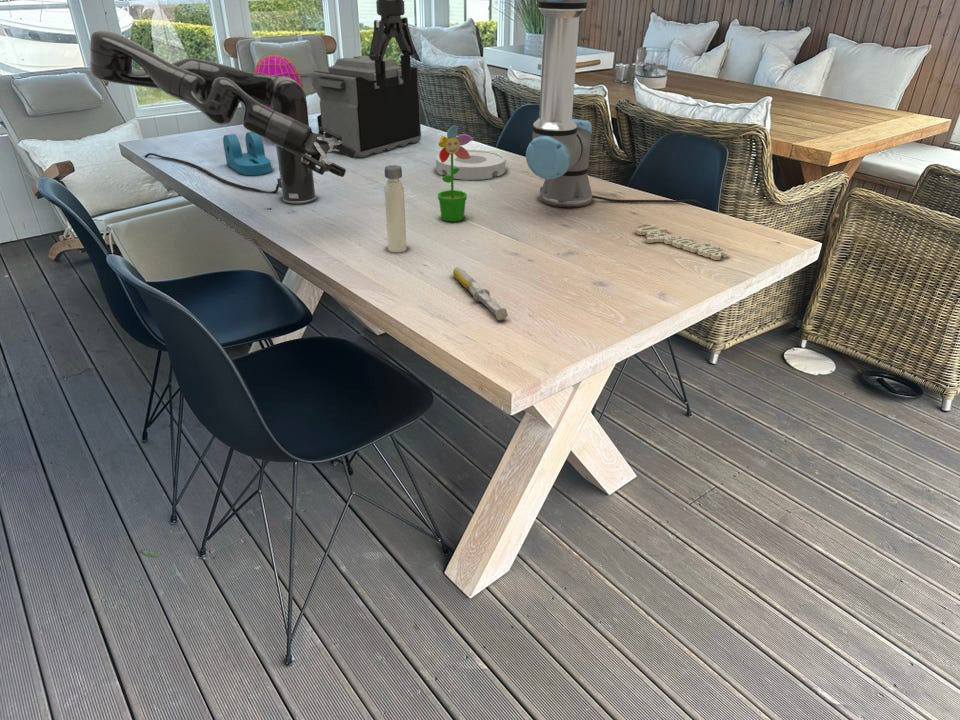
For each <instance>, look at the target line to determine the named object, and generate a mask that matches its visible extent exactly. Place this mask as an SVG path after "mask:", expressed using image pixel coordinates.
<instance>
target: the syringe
mask: <svg viewBox="0 0 960 720" xmlns="http://www.w3.org/2000/svg"><path fill="white" fill-rule="evenodd" d="M452 274H453V277H454V279H455V280H457V281H458V282H459V283H460V285H462V287H464V289H466V290H467V291H468V293H470V295H471V296H472V298H473V300H474V302H477V303H478V302H480V303H482V304H483V305H484V306H485V307H486V308H487V309H488V310H489V311H490V312H491V313H492V314H493V315H494V316H495V317H496V320H497V321H503V320H504V319H506V318H507V317H509V314H508V310H507V308H506V307H502V306H501V305H500V303H498V302H497V301H496V300H494V299H493V298H492V297H491V296H490V295H491V293H490V290H488V289H486V288H483V287H482V286H481V285H480V284H479V283H478V282H477V281H476V280H474V278H473V277H471V275H469V274H468V273H467V272H466V270H465V269H464V268H463V267H462V266H456V267H454V268H453V271H452Z"/></svg>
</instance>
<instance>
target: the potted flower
mask: <svg viewBox="0 0 960 720" xmlns="http://www.w3.org/2000/svg"><path fill="white" fill-rule="evenodd" d="M472 141H474V138H473V136H471V135H469V134H468V133H467V134H466V133H461V134H459V135H458V127H457V126H456V125H455V124H453V125H452V126H450V127H449V128H448V129H447V131H446V136H444V135H441V136H440V138H439V142H438V146H439V148H441V150H440V151H439V153H438V155H439V157H440V160H441V162H442V163H443V162H445V161H446V160H447V159H448V157H449V155H450V154H451V176H450V175H443V176H442V178H441V179H442V181H443V182H444V183H448V184H449V183H450V190H443V191H440V192H438V193H437V199H438V202H439V203H438V204H439V209H440V218H441V219H442V220H443V221H445V222H459V221H460V222H461V221H462V220H464V218H465V210H466V201H467V198H468V194H467V192H465V191H462V190H455V189H454V185H455V184H454V178H453V174H456V173H457V172H458V171H459V168H455V169H453V154H455V155H456V156H457V157H458V158H460V159H469V158H471V156H470V155H469V153H468V151H467V150H468V149H466V148H465V147H463V146H465V145H467V144H469V143H470V142H472Z"/></svg>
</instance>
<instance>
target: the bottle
mask: <svg viewBox="0 0 960 720" xmlns="http://www.w3.org/2000/svg"><path fill="white" fill-rule="evenodd" d="M383 191H384V204H385V205H384V206H385V220H386V221H385V222H386V238H387V251H389V252H391V253H404V252H405V251H406V250H407V229H406V228H407V227H406V209H405V187H404V185H403V183H402V181H401V179H400V178H398V179H388V178H387V180H386V183H385V185H384V190H383Z"/></svg>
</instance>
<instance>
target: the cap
mask: <svg viewBox="0 0 960 720" xmlns="http://www.w3.org/2000/svg"><path fill="white" fill-rule="evenodd" d="M384 177H385V179H387V180H388V179H398V178H399V179H401V178H402V177H403V170H402V166H401V165H395V164H393V165H390V164H389V165H386V166H384Z"/></svg>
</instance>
